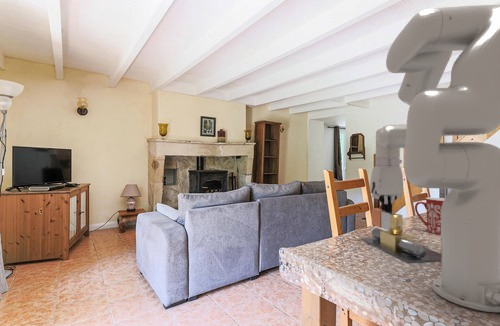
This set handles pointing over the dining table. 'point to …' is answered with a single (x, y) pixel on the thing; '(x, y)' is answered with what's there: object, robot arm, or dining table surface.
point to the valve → (401, 247)
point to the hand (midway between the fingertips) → (386, 214)
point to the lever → (387, 220)
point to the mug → (432, 214)
